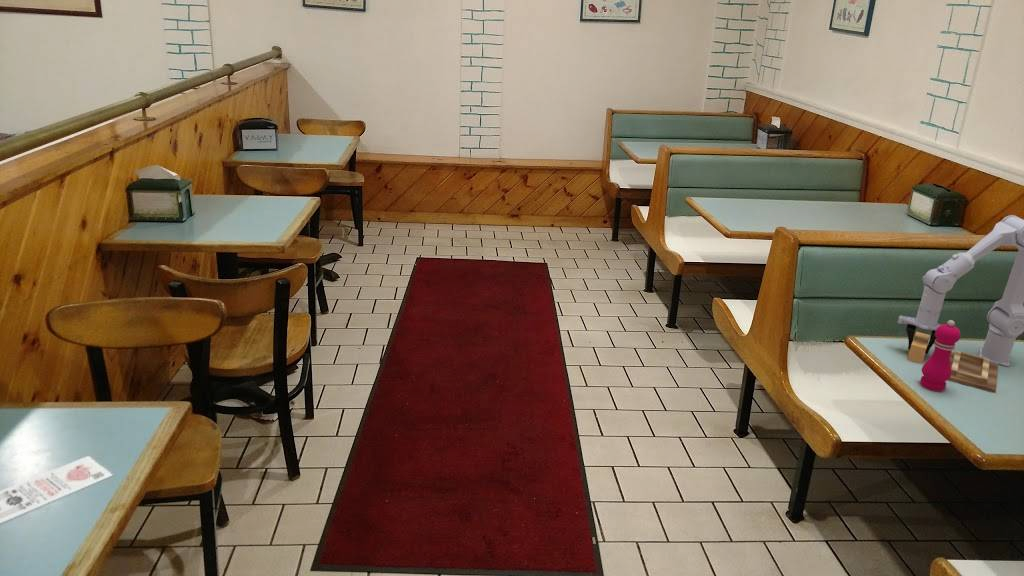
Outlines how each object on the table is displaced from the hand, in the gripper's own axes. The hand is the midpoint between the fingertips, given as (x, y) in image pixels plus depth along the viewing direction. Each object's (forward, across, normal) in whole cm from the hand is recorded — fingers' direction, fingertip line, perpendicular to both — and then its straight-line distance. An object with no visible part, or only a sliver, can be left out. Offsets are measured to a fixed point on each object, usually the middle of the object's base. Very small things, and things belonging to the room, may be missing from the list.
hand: (918, 350), depth 230 cm
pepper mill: (+2, +6, -20) cm, 21 cm away
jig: (+1, +14, -3) cm, 14 cm away
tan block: (+2, 0, 0) cm, 2 cm away
